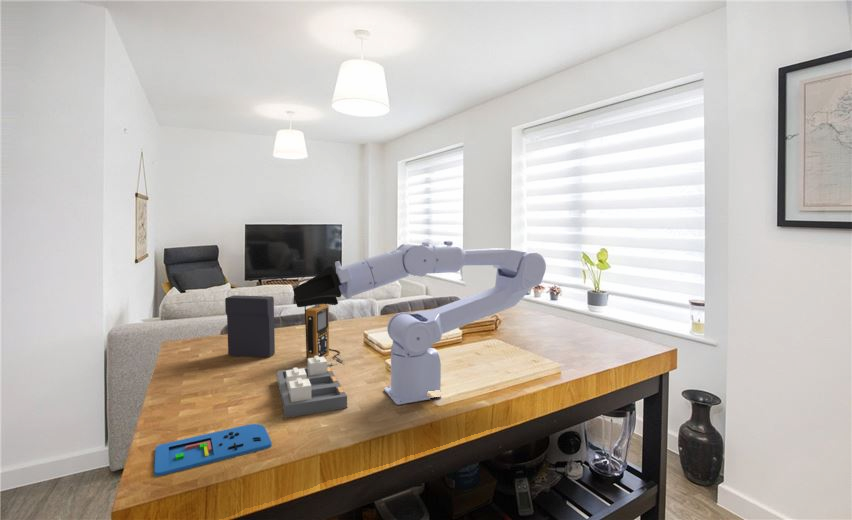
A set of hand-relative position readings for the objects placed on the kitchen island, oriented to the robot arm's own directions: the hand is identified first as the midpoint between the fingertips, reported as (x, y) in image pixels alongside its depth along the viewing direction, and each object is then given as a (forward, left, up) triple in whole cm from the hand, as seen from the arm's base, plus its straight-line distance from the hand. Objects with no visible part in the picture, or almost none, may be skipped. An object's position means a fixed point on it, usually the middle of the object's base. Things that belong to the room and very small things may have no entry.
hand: (295, 298), depth 72 cm
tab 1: (-1, -8, -19) cm, 21 cm away
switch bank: (-3, -8, -20) cm, 22 cm away
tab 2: (-1, -2, -19) cm, 19 cm away
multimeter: (-11, -27, -21) cm, 36 cm away
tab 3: (-6, -14, -19) cm, 24 cm away
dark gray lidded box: (+7, -38, -21) cm, 44 cm away
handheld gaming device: (+13, +7, -21) cm, 26 cm away
